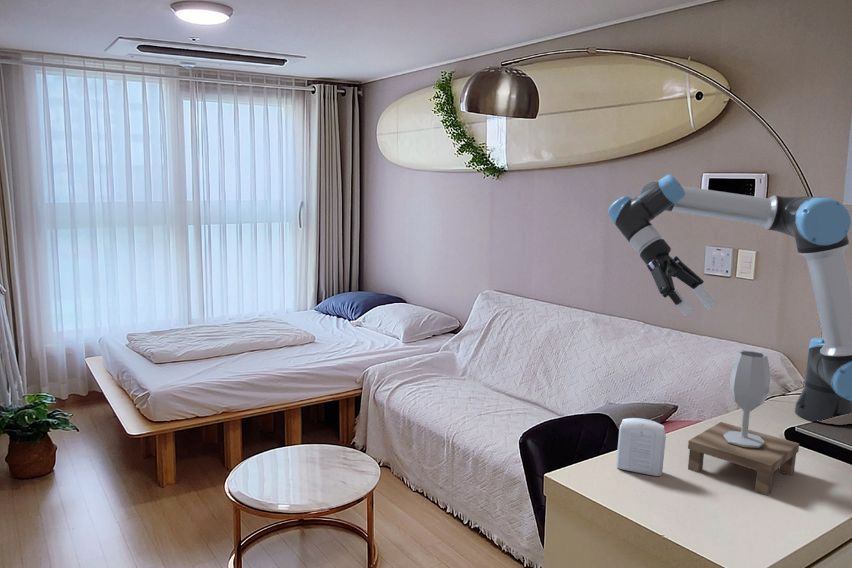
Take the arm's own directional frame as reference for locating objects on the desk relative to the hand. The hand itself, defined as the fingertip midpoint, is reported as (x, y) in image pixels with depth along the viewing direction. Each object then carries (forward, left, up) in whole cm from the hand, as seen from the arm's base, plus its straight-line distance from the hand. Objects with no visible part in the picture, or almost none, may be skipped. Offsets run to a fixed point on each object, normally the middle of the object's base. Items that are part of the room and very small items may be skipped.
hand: (701, 310), depth 171 cm
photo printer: (+30, +2, -34) cm, 45 cm away
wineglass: (+12, +18, -27) cm, 34 cm away
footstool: (+12, +18, -34) cm, 40 cm away
